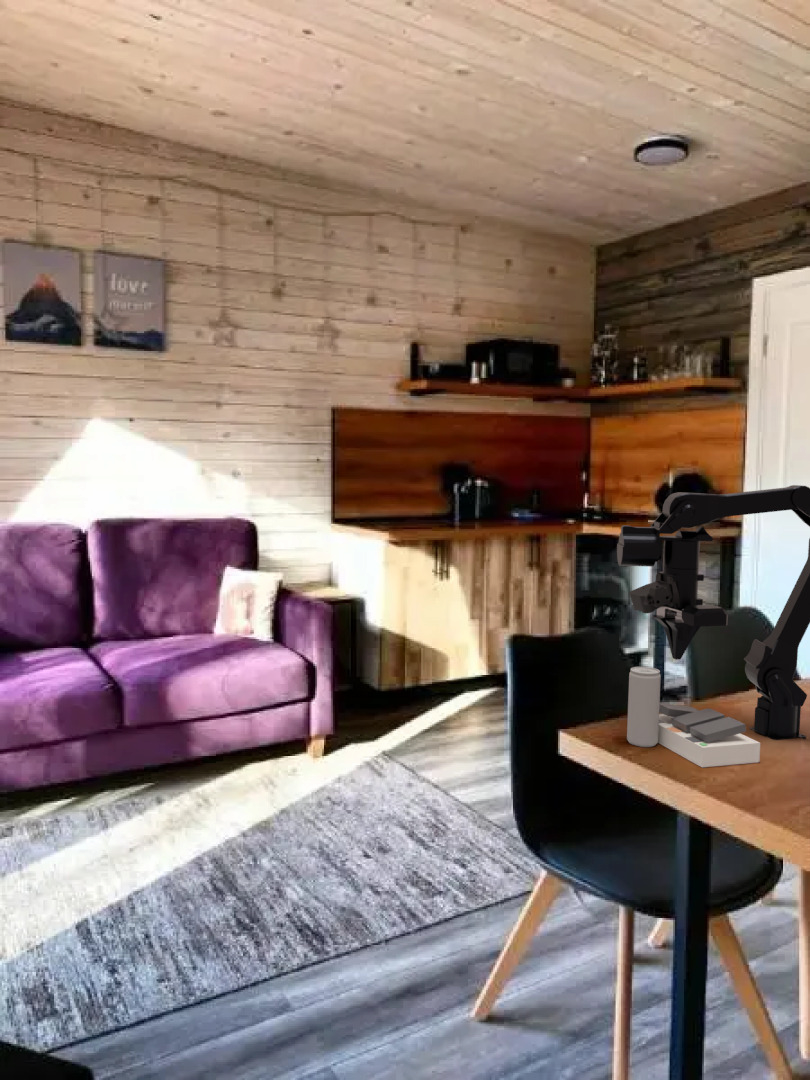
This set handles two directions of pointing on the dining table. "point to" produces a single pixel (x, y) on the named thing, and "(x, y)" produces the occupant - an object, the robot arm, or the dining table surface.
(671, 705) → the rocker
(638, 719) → the beverage can
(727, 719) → the block
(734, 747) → the rocker switch panel
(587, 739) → the dining table surface
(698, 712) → the block
